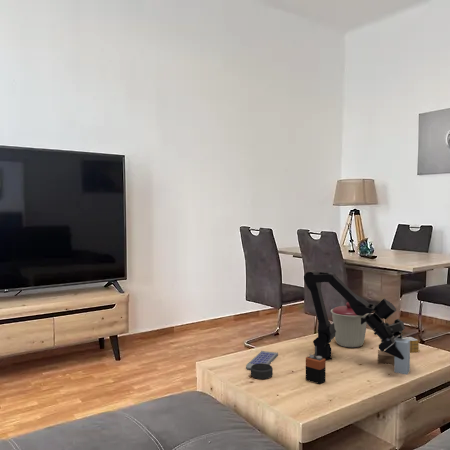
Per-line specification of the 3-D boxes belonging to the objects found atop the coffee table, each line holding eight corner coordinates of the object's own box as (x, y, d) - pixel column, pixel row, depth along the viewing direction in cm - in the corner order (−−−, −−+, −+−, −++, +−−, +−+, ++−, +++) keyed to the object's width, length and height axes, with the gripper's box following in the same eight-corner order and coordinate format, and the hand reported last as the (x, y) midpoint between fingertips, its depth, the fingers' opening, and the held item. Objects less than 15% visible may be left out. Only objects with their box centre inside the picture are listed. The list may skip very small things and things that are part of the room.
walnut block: (378, 363, 204) (378, 354, 204) (377, 358, 211) (377, 349, 211) (395, 365, 202) (395, 356, 202) (394, 360, 209) (394, 351, 209)
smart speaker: (277, 375, 191) (277, 366, 191) (262, 382, 185) (262, 372, 185) (260, 370, 198) (260, 361, 197) (246, 376, 191) (246, 366, 191)
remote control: (278, 356, 216) (278, 352, 216) (262, 373, 195) (262, 368, 195) (261, 354, 219) (261, 350, 219) (244, 370, 198) (244, 365, 198)
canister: (325, 340, 239) (325, 298, 238) (360, 338, 241) (360, 297, 240) (338, 351, 221) (338, 306, 220) (375, 349, 223) (375, 305, 222)
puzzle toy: (407, 353, 217) (407, 341, 217) (400, 349, 223) (400, 337, 222) (418, 352, 218) (418, 340, 218) (411, 348, 224) (411, 336, 224)
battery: (320, 384, 181) (320, 359, 181) (305, 380, 186) (305, 355, 186) (326, 381, 185) (326, 356, 184) (311, 377, 189) (311, 352, 189)
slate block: (394, 372, 193) (394, 341, 193) (397, 368, 198) (397, 338, 197) (407, 374, 191) (407, 342, 190) (409, 370, 195) (409, 339, 194)
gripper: (387, 319, 187) (416, 350, 182) (397, 309, 203) (424, 338, 198) (366, 335, 192) (395, 367, 186) (378, 325, 208) (404, 354, 202)
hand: (405, 356), depth 193 cm, fingers open, 8 cm apart
